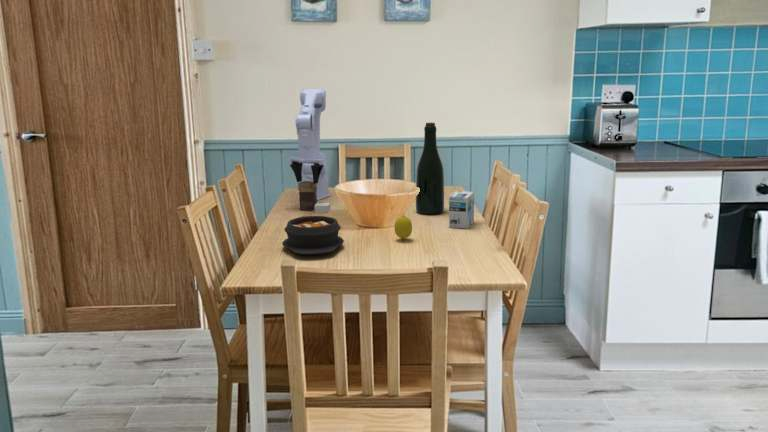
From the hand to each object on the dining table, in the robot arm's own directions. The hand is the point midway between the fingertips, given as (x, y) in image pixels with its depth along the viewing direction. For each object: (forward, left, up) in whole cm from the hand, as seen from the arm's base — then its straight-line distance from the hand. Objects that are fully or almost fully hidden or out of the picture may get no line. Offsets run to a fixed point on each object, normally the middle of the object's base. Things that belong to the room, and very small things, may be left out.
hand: (307, 182), depth 247 cm
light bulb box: (-3, +61, -10) cm, 62 cm away
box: (0, 0, -10) cm, 10 cm away
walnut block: (0, 0, -3) cm, 3 cm away
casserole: (+43, +31, -11) cm, 54 cm away
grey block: (+1, +7, -10) cm, 13 cm away
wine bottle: (-15, +44, -10) cm, 48 cm away
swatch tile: (-8, +1, -10) cm, 13 cm away
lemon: (+23, +52, -10) cm, 58 cm away
